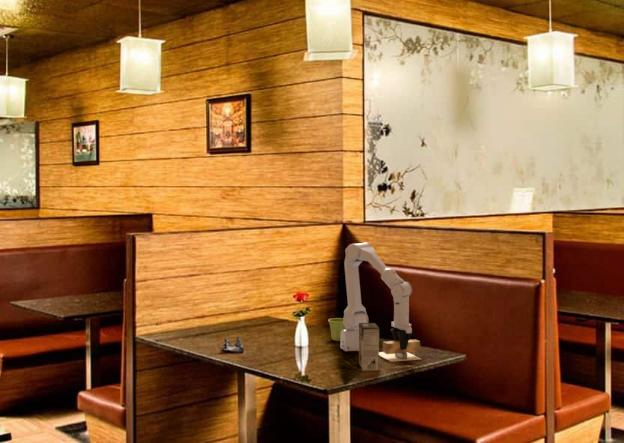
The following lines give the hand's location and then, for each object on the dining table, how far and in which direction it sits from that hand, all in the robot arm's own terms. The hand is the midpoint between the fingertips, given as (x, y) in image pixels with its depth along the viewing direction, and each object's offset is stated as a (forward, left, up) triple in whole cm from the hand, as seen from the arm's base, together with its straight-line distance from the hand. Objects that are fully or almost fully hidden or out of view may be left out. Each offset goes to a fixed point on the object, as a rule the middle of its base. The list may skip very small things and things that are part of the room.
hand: (401, 348), depth 313 cm
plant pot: (-10, +42, -5) cm, 43 cm away
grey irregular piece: (-58, +35, -5) cm, 68 cm away
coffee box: (-17, -8, -5) cm, 19 cm away
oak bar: (0, 0, -1) cm, 1 cm away
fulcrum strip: (0, 0, -4) cm, 4 cm away
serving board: (0, +3, -4) cm, 5 cm away
